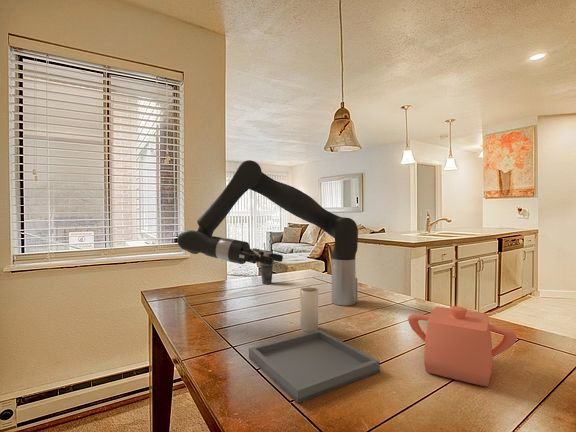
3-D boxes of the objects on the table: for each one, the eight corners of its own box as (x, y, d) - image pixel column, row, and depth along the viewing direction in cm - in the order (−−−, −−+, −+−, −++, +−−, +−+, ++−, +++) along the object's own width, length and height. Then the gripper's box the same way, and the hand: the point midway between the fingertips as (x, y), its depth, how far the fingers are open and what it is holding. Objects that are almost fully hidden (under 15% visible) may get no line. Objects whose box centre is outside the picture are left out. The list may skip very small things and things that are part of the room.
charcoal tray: (320, 338, 91) (320, 329, 91) (379, 372, 72) (379, 361, 72) (248, 357, 79) (248, 347, 79) (297, 403, 61) (297, 390, 61)
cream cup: (311, 324, 102) (311, 286, 102) (322, 329, 98) (321, 290, 98) (296, 327, 100) (296, 288, 99) (307, 333, 95) (307, 292, 95)
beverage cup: (272, 285, 154) (271, 243, 154) (257, 284, 156) (257, 243, 155) (275, 282, 162) (275, 242, 161) (261, 281, 163) (261, 242, 163)
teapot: (519, 399, 62) (520, 327, 62) (401, 369, 74) (401, 308, 73) (512, 358, 79) (513, 301, 78) (417, 339, 90) (417, 289, 90)
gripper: (223, 240, 101) (270, 250, 95) (244, 238, 114) (286, 246, 109) (220, 264, 101) (267, 275, 95) (241, 259, 114) (283, 268, 109)
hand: (277, 260), depth 102 cm, fingers open, 8 cm apart
